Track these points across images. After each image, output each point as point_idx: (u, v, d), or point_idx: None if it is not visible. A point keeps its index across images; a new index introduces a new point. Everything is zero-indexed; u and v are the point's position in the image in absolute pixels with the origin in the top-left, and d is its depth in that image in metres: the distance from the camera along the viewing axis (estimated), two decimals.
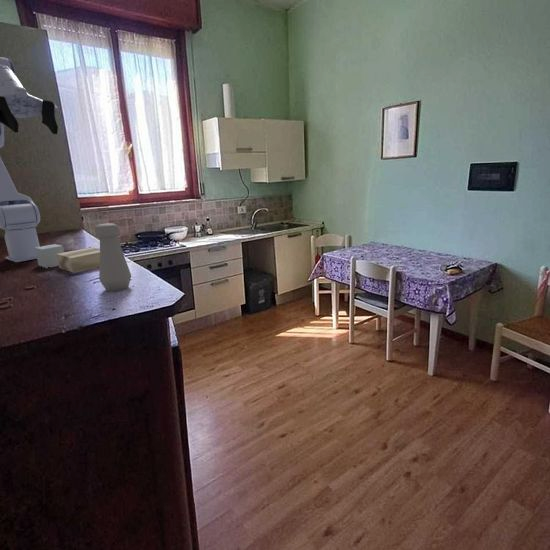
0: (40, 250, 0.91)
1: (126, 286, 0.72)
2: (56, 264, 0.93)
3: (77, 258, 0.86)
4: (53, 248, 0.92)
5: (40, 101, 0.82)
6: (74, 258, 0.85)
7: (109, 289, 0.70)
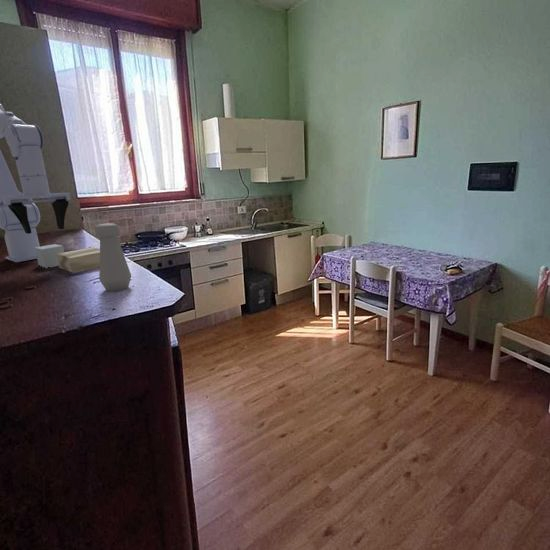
0: (40, 250, 0.91)
1: (126, 286, 0.72)
2: (56, 264, 0.93)
3: (76, 258, 0.86)
4: (53, 248, 0.92)
5: (56, 196, 0.92)
6: (73, 258, 0.85)
7: (109, 289, 0.70)
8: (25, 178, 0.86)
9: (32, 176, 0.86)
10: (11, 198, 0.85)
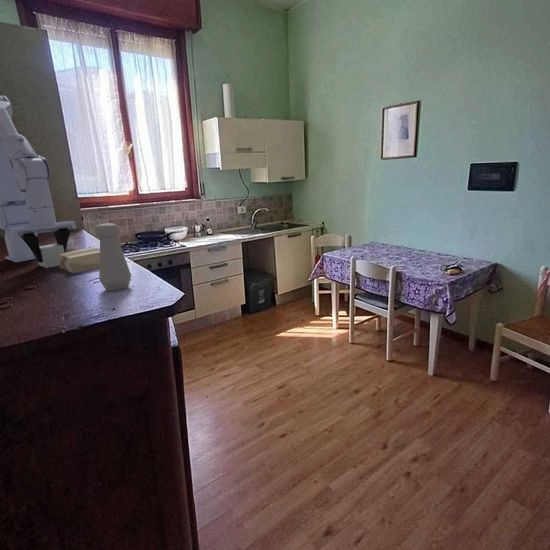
0: (40, 250, 0.91)
1: (126, 286, 0.72)
2: (56, 264, 0.93)
3: (76, 258, 0.86)
4: (53, 248, 0.92)
5: (63, 225, 0.94)
6: (73, 258, 0.85)
7: (109, 289, 0.70)
8: (32, 210, 0.88)
9: (39, 208, 0.88)
10: (19, 230, 0.87)
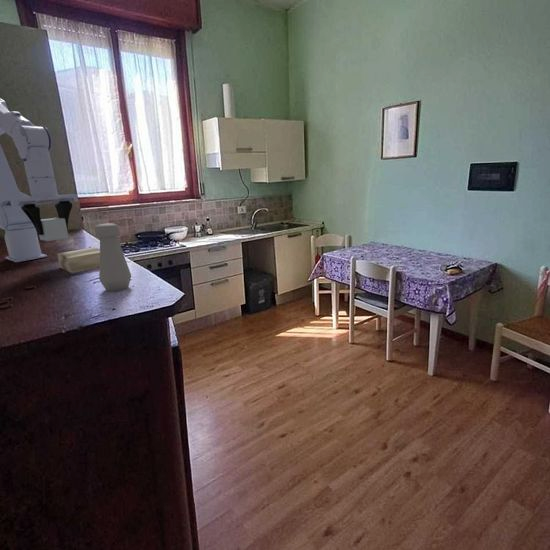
0: (41, 222, 0.88)
1: (126, 286, 0.72)
2: (58, 237, 0.91)
3: (75, 258, 0.86)
4: (55, 220, 0.89)
5: (64, 198, 0.91)
6: (72, 258, 0.85)
7: (109, 289, 0.70)
8: (33, 180, 0.85)
9: (40, 178, 0.86)
10: (19, 200, 0.84)
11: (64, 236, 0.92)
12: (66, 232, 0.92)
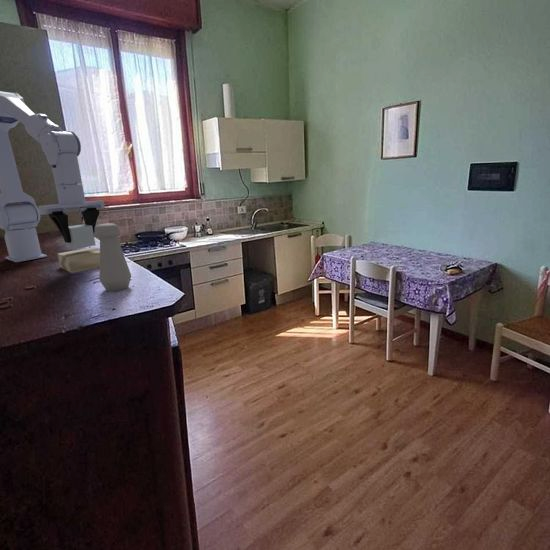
0: (69, 229, 0.86)
1: (126, 286, 0.72)
2: (85, 245, 0.89)
3: (75, 258, 0.86)
4: (82, 228, 0.88)
5: (92, 205, 0.89)
6: (72, 258, 0.85)
7: (109, 289, 0.70)
8: (62, 187, 0.84)
9: (69, 184, 0.84)
10: (48, 207, 0.82)
11: (91, 244, 0.90)
12: (93, 239, 0.90)
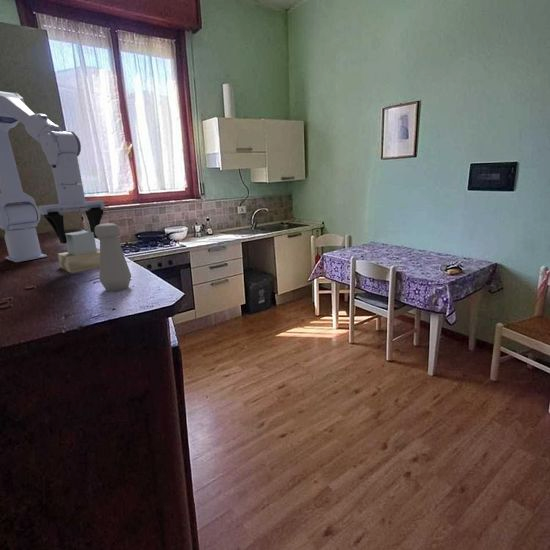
0: (70, 236, 0.87)
1: (126, 286, 0.72)
2: (86, 251, 0.89)
3: (74, 258, 0.86)
4: (84, 234, 0.88)
5: (92, 204, 0.89)
6: (71, 258, 0.85)
7: (109, 289, 0.70)
8: (62, 187, 0.84)
9: (69, 184, 0.84)
10: (48, 207, 0.82)
11: (92, 250, 0.90)
12: (94, 246, 0.90)
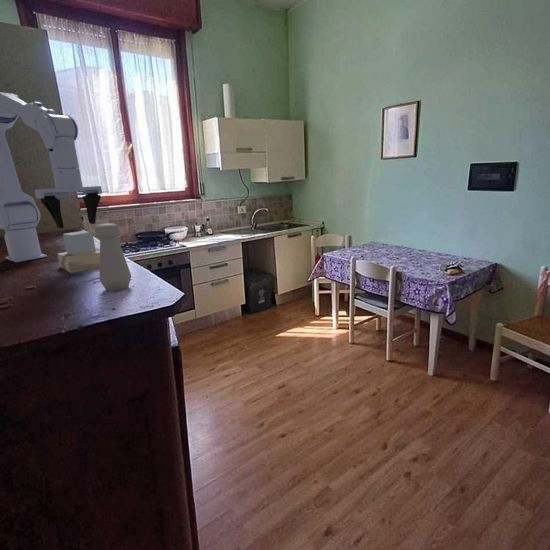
0: (69, 236, 0.87)
1: (126, 286, 0.72)
2: (85, 251, 0.89)
3: (74, 258, 0.86)
4: (82, 234, 0.88)
5: (89, 190, 0.89)
6: (71, 258, 0.85)
7: (109, 289, 0.70)
8: (58, 170, 0.83)
9: (66, 168, 0.83)
10: (44, 191, 0.82)
11: (91, 250, 0.90)
12: (93, 246, 0.90)
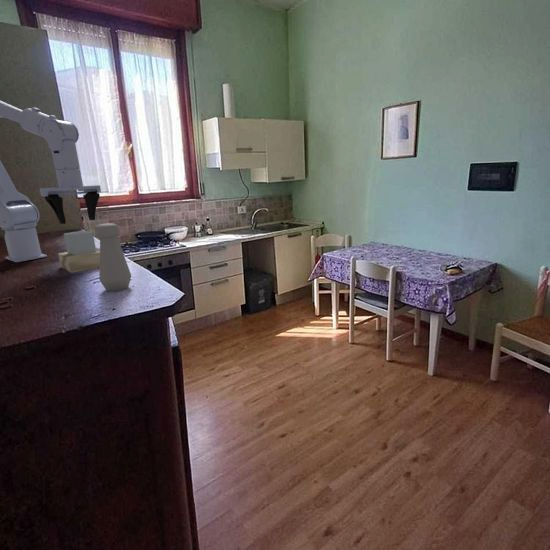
0: (70, 236, 0.87)
1: (126, 286, 0.72)
2: (86, 251, 0.89)
3: (75, 258, 0.86)
4: (83, 234, 0.88)
5: (89, 188, 0.97)
6: (72, 258, 0.85)
7: (109, 289, 0.70)
8: (61, 171, 0.91)
9: (68, 169, 0.91)
10: (48, 190, 0.90)
11: (92, 250, 0.90)
12: (94, 246, 0.91)
